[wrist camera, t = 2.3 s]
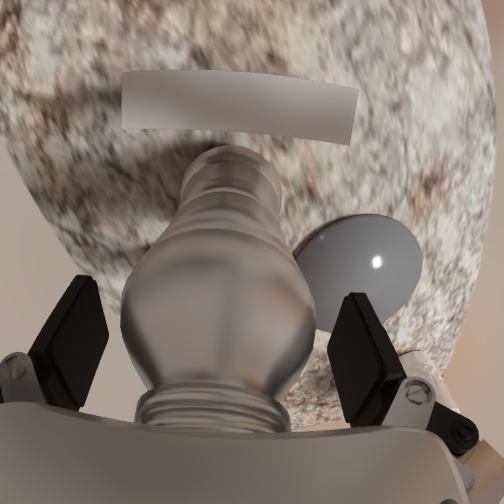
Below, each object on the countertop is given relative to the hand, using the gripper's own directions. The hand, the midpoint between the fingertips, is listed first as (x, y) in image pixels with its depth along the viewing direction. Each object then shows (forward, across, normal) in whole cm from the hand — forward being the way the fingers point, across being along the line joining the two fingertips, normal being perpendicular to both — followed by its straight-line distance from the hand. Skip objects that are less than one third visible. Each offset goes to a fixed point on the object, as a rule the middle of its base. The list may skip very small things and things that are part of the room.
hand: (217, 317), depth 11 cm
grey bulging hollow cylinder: (+14, 0, -1) cm, 14 cm away
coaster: (+14, -12, +7) cm, 20 cm away
